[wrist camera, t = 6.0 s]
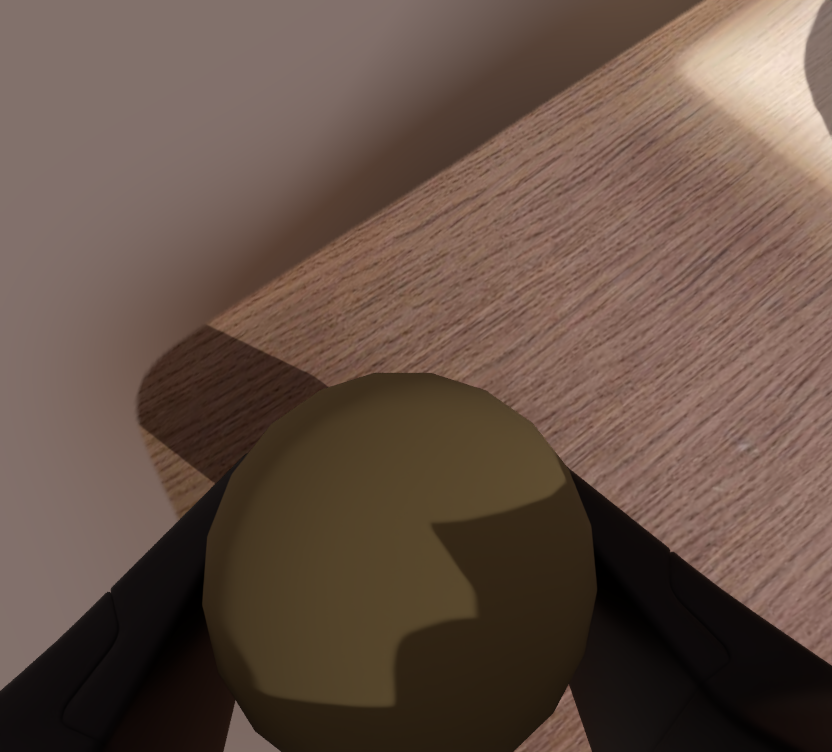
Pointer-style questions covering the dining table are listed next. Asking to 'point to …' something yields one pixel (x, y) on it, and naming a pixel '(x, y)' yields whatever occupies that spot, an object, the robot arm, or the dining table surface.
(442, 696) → the cork
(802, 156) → the dining table surface
